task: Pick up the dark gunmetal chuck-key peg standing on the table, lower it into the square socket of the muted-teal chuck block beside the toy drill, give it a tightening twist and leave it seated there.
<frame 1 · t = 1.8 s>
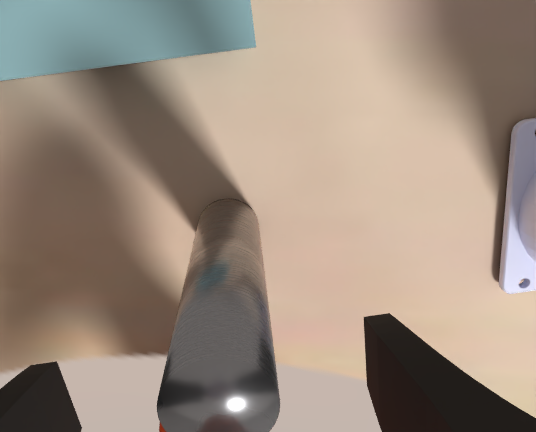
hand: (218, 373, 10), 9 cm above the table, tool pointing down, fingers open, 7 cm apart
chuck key: (228, 227, 18), on the table
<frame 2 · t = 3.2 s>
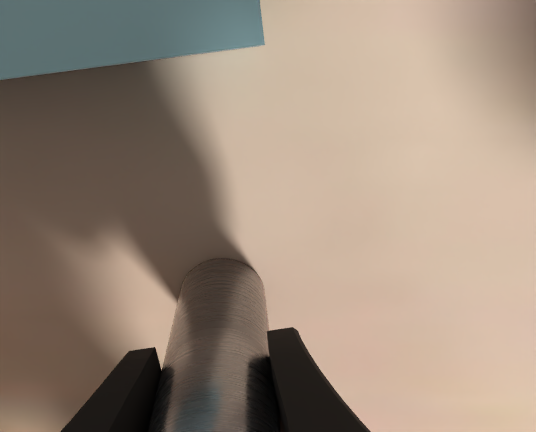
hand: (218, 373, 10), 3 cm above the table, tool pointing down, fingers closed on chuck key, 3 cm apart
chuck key: (222, 296, 13), on the table, touching gripper
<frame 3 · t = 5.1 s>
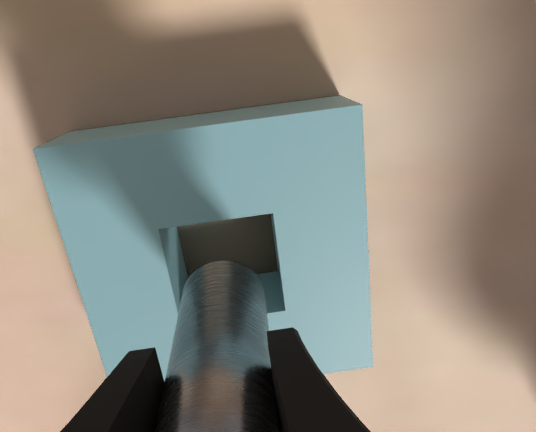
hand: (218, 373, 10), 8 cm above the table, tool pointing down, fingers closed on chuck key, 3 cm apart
chuck block: (226, 236, 18), on the table
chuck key: (223, 296, 14), point 4 cm above the table, touching gripper
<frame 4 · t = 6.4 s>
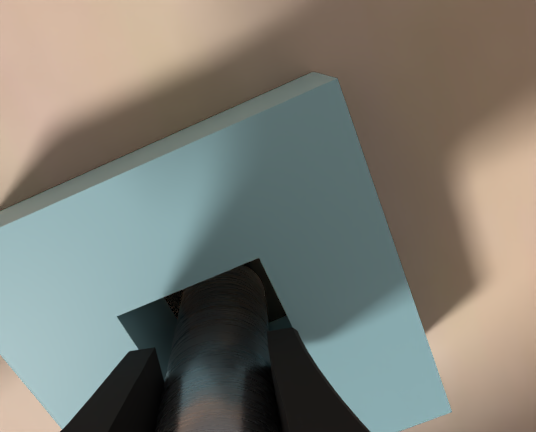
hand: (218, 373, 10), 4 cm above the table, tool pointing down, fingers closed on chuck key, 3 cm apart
chuck block: (223, 286, 14), on the table
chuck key: (224, 296, 14), resting in chuck block, touching gripper
when the fingers open (4 cm above the table, at t = 7.4 s): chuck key stays where it is, resting in chuck block.
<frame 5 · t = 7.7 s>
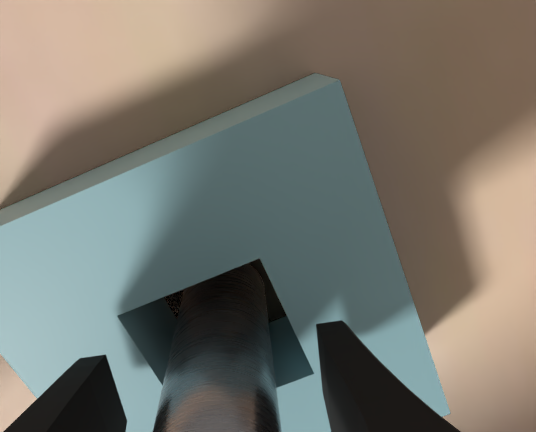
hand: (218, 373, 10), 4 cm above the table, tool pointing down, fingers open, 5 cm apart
chuck block: (223, 286, 14), on the table
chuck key: (224, 292, 14), resting in chuck block
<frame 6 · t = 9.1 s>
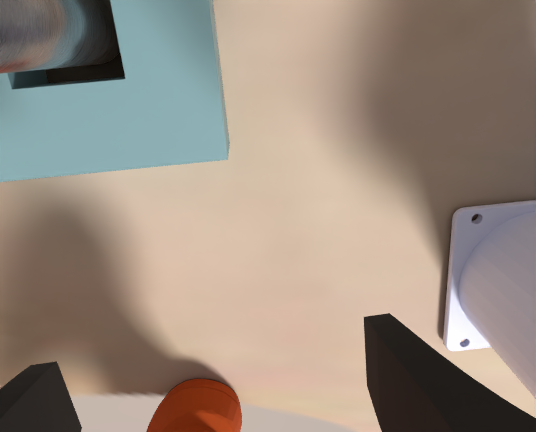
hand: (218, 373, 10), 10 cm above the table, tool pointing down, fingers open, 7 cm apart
chuck block: (85, 27, 17), on the table
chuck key: (91, 28, 17), resting in chuck block
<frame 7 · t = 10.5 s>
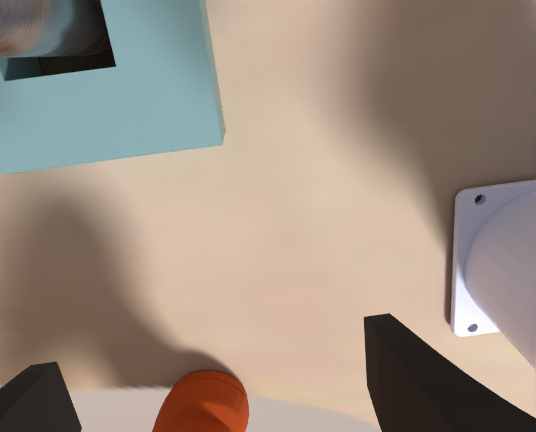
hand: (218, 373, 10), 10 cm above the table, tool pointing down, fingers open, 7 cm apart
chuck block: (76, 18, 17), on the table
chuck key: (82, 19, 17), resting in chuck block
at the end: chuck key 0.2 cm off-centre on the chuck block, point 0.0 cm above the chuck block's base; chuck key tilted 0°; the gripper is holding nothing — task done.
